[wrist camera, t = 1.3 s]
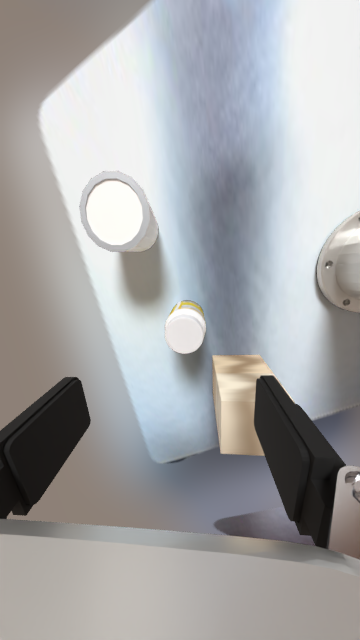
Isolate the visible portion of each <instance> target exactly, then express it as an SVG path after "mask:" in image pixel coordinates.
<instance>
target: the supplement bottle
mask: <svg viewBox="0 0 360 640" xmlns="http://www.w3.org/2000/svg"><path fill="white" fill-rule="evenodd" d="M205 332H206V323H205V318H204V313H203V310H202V308H201V307H200V305H199V304H197V303H196V302H194V301H191V300H184V301H181V302H179V303H177V304H176V305H175V306H174V308H173V309H172V311H171V313H170V315H169V316H168V318H167V320H166V323H165V340H166V342H167V344H168V346H169V347H170V348H171V349H172V350H173V351H175V352H178V353H181V354H188V353H192V352H194V351H196V350H197V349H198V348H199V347H200V346H201V344H202V342H203V338H204V336H205Z"/></svg>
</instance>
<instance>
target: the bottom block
mask: <svg viewBox="0 0 360 640" xmlns="http://www.w3.org/2000/svg"><path fill="white" fill-rule="evenodd" d="M216 373H273V372H272V371H271V370H270V368H269V367H268V366H267V364H266V363H265V362H264V360H263V359H262V358H261V356H260V355H213V398H214V406H215V413H216Z"/></svg>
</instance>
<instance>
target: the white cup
mask: <svg viewBox="0 0 360 640" xmlns="http://www.w3.org/2000/svg"><path fill="white" fill-rule="evenodd" d="M79 207H80V214H81V222H82V224H83V226H84V228H85V230H86V232H87V234H88V236H89V237H90V238H91V239H92V240H93V241H94V242H95V243H96V244H97V245H98V246H99V247H102V248H104V249H106V250H108V251H111V252H143V251H145V250H147V249H150V248H151V246H152V245H153V244H154V243H155V241H156V239H157V236H158V223H157V221H156V218H155V216H154V213H153V211H152V209H151V207H150V204H149V202H148V200H147V198H146V195H145V193H144V191H143V189H142V188H141V187H140V186H139V185H138V183H137V182H136V181H135V180H134V179H133V178H132V177H130V176H128V175H126V174H124V173H122V172H119V171H103V172H102V173H100V174H98V175H96V176H95V177H93V178H91V179H90V181H89V182H88V184H87V185H86V187H85V188H84V190H83V192H82V197H81V201H80V206H79Z"/></svg>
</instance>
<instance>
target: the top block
mask: <svg viewBox="0 0 360 640" xmlns="http://www.w3.org/2000/svg"><path fill="white" fill-rule="evenodd" d="M261 375H273V376H274V377H275V378H276V376H275V375H274V374H273V373H216V422H217V429H218V437H219V444H220V451H221V454H240V455H262V456H265V455H264V452H263V449H262V447H261V444H260V441H259V439H258V436H257V433H256V431H255V427H254V409H255V393H256V380H257V378H260V376H261ZM276 379H277V378H276ZM277 381H278V382H279V380H278V379H277ZM279 383H280V382H279ZM280 385H281V386H282V384H281V383H280ZM282 387H283V386H282ZM283 389H284V390H285V388H284V387H283ZM285 391H286V390H285ZM286 393H287V391H286ZM287 394H288V393H287ZM288 395H289V394H288ZM289 397H290V395H289ZM290 398H291V397H290ZM291 399H292V398H291ZM292 401H293V399H292ZM293 402H294V401H293ZM294 403H295V402H294Z"/></svg>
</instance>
